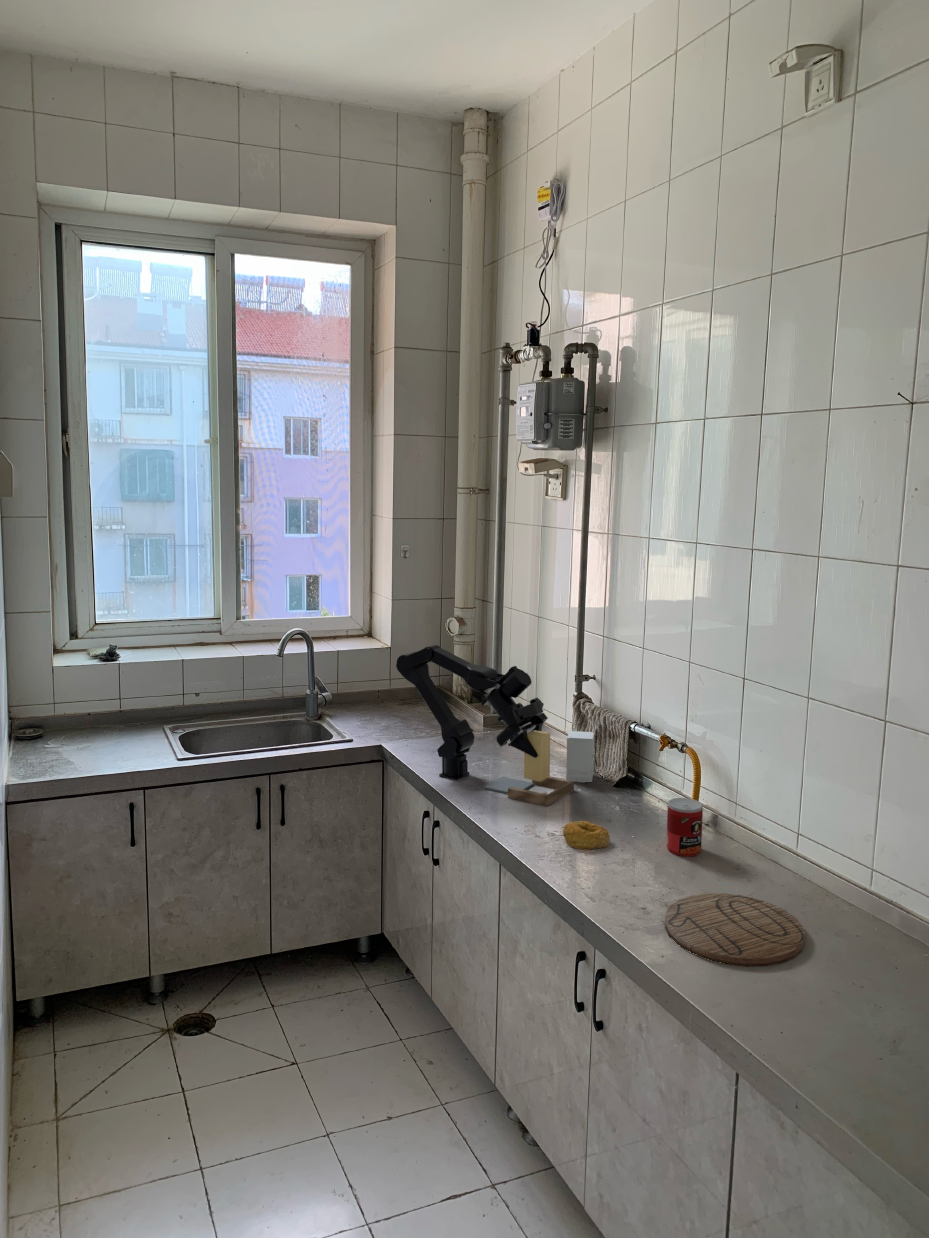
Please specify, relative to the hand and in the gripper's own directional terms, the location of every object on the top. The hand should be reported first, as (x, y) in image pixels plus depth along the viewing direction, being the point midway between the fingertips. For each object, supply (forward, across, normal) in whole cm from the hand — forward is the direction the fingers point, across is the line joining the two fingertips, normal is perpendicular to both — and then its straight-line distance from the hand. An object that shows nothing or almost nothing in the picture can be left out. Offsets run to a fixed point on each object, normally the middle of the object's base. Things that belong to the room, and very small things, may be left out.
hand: (541, 754), depth 244 cm
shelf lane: (+7, 0, +8) cm, 11 cm away
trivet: (+55, -46, -39) cm, 81 cm away
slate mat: (+1, 0, +15) cm, 15 cm away
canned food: (+40, -15, -24) cm, 49 cm away
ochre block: (+4, 0, +6) cm, 7 cm away
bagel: (+25, -23, -9) cm, 35 cm away
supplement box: (+10, +17, +6) cm, 21 cm away
